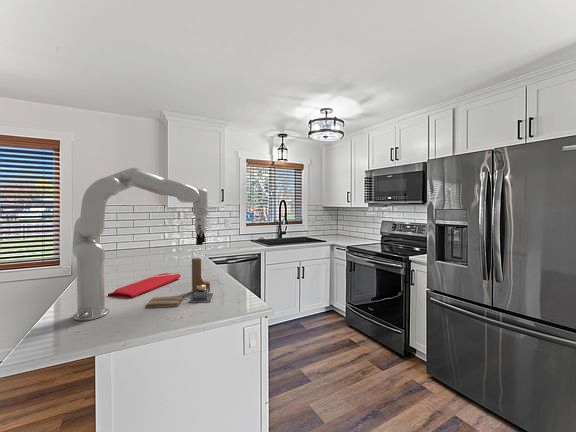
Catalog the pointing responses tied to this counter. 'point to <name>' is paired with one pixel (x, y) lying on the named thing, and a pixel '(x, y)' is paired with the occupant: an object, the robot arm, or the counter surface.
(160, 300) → the board
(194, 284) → the wooden block
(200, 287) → the button
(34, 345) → the counter surface
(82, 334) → the counter surface
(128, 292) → the dish drying mat
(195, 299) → the plate
